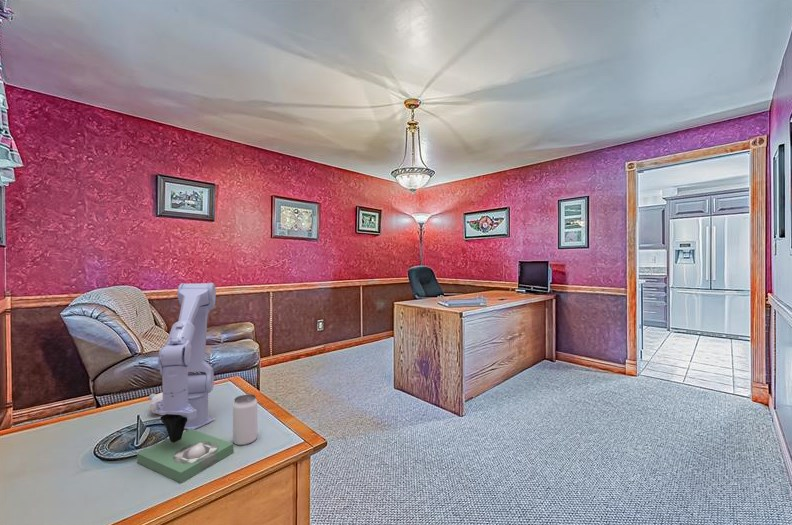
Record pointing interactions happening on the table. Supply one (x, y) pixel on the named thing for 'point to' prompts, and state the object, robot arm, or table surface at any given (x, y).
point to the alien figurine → (154, 399)
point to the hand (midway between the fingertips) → (175, 440)
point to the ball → (196, 452)
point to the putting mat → (184, 455)
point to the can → (245, 419)
